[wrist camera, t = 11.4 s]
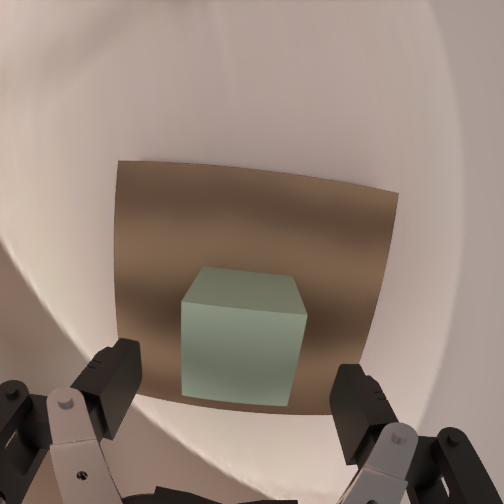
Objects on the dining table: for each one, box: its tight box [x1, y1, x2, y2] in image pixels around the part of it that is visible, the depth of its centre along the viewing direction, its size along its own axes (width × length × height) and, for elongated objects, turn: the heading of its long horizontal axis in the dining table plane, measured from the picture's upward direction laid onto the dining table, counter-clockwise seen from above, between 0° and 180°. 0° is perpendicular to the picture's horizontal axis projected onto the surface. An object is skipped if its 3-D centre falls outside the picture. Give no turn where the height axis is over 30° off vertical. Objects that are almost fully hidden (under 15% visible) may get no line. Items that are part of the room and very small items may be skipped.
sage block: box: [181, 266, 307, 406], centre depth 14 cm, size 5×5×5 cm
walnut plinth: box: [114, 161, 399, 415], centre depth 18 cm, size 16×16×3 cm
